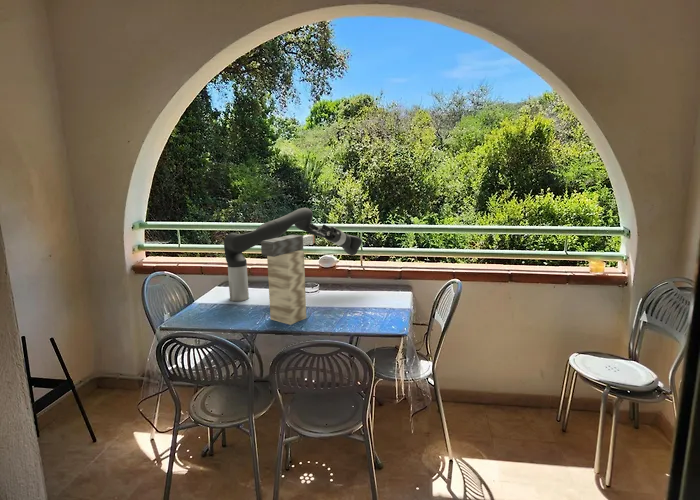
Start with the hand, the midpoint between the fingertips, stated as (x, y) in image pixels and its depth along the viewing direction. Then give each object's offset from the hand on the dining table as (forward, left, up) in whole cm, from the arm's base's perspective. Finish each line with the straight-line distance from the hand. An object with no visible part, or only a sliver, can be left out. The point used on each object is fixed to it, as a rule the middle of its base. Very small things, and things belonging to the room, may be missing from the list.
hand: (316, 225), depth 217 cm
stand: (-19, -24, -37) cm, 48 cm away
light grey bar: (-14, -20, -6) cm, 25 cm away
